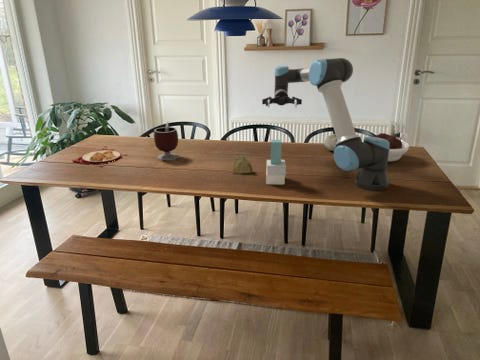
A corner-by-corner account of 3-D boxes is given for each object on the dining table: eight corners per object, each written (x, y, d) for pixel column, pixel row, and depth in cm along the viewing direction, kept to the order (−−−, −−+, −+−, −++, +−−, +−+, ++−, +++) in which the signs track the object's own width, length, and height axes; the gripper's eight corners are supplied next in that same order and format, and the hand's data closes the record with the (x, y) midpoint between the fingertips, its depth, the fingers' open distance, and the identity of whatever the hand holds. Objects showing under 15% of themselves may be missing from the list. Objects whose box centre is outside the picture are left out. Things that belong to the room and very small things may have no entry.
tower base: (283, 178, 195) (284, 169, 193) (284, 184, 187) (284, 175, 185) (266, 177, 196) (266, 168, 194) (266, 184, 187) (266, 175, 186)
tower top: (284, 169, 193) (284, 159, 191) (285, 175, 185) (285, 165, 183) (266, 169, 194) (266, 159, 192) (267, 175, 185) (267, 165, 183)
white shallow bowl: (399, 152, 231) (403, 128, 226) (412, 166, 208) (417, 139, 203) (357, 152, 234) (360, 128, 228) (365, 165, 211) (368, 139, 205)
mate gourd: (177, 161, 223) (174, 127, 215) (153, 161, 223) (150, 127, 216) (181, 153, 237) (179, 121, 230) (159, 153, 237) (156, 121, 230)
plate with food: (71, 163, 224) (70, 157, 223) (103, 150, 245) (103, 145, 244) (101, 169, 214) (100, 163, 213) (132, 155, 235) (132, 150, 234)
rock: (257, 166, 205) (241, 161, 210) (254, 157, 198) (238, 152, 202) (248, 182, 201) (232, 176, 205) (245, 173, 194) (228, 168, 198)
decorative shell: (346, 156, 226) (347, 140, 223) (318, 151, 237) (319, 135, 233) (357, 149, 240) (359, 133, 236) (331, 144, 250) (332, 129, 246)
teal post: (281, 161, 189) (281, 139, 185) (281, 164, 185) (281, 142, 181) (271, 160, 190) (271, 139, 186) (270, 164, 185) (271, 142, 181)
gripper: (304, 104, 210) (307, 112, 190) (258, 104, 212) (257, 111, 192) (304, 90, 207) (307, 96, 187) (258, 90, 209) (257, 96, 189)
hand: (282, 104), depth 189 cm, fingers open, 13 cm apart
